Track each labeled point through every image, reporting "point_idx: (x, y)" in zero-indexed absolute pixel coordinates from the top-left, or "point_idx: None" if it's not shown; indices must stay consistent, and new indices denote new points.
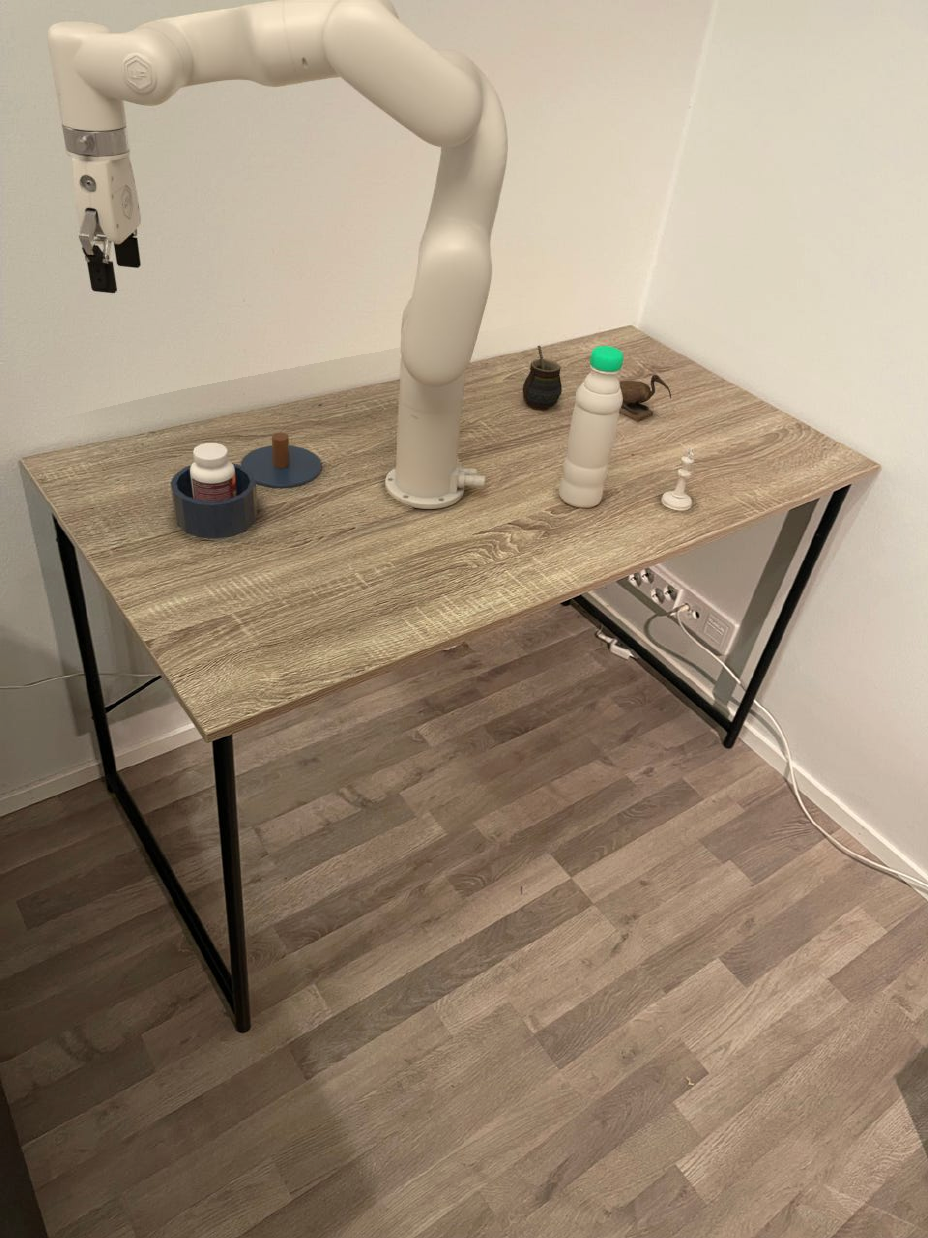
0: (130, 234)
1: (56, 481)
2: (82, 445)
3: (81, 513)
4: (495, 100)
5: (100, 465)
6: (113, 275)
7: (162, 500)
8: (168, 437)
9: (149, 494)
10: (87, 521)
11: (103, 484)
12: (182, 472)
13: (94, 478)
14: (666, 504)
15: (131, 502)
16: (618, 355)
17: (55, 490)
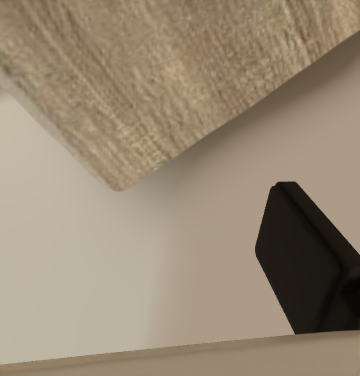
0: (183, 351)
1: (165, 149)
2: (77, 150)
3: (230, 101)
4: None
5: (120, 114)
6: (329, 221)
7: (195, 4)
8: (12, 41)
9: (182, 28)
10: (246, 89)
11: (165, 96)
12: None
13: (152, 111)
14: None
15: (203, 48)
16: None
17: (184, 144)
